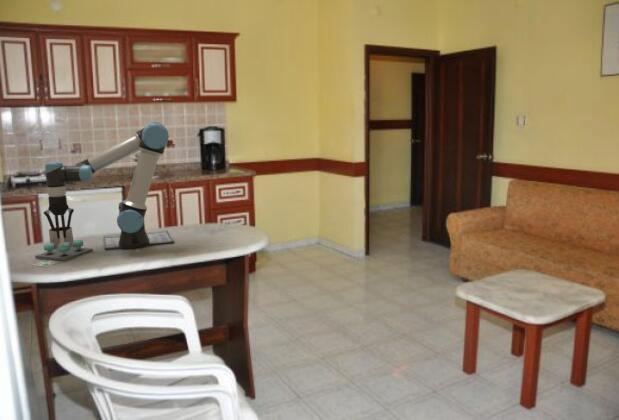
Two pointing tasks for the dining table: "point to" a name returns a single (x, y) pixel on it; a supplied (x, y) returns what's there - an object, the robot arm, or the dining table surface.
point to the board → (64, 257)
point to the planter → (56, 241)
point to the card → (45, 263)
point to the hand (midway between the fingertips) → (62, 244)
